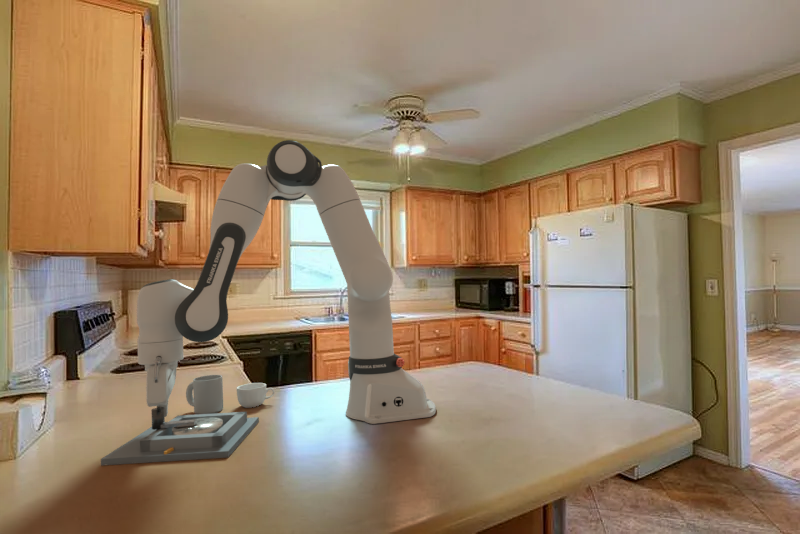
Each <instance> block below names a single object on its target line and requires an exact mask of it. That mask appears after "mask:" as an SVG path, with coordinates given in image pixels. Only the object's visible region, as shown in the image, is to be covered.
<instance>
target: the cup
mask: <svg viewBox="0 0 800 534" xmlns="http://www.w3.org/2000/svg"><path fill="white" fill-rule="evenodd" d="M223 381H224V380H223V375H221V374H210V375H202V376H198V377H197V376H196V377H195V378H192V381H191V382H190V383H189V384H188V385H187V388H186V391H185V398H186V402H187V404H188V405H189V406H190V407H193V412H194V415H197V414H214V413H221V411H223V409H224V388H223V387H224V386H223Z"/></svg>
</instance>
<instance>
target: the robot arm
mask: <svg viewBox="0 0 800 534" xmlns="http://www.w3.org/2000/svg"><path fill="white" fill-rule="evenodd" d="M306 195H307V196H308V197H309V198H310V199H311V200H312V202H313V203H314V204H315V207H316V210H317V213H318V216H319V218H320V220H321V222H322V225H323V228H324V230H325V233H326V235H327V237H328V240H329V243H330V246H331V247H332V249H333V252H334V255H335V257H336V260H337V262H338V264H339V267H340V270H341V272H342V275H343V278H344V280H345V282H346V288H347V310H348V311H347V312H348V338H349V339H348V340H349V342H348V343H349V356H348V361H347V367H348V368H347V369H348V370H347V371H348V379H349V381H350V382H349V391H348V392H349V393H348V401H347V406H346V411H345V416H346V417H348V418H350V419H353V420H356V421H357V420H358V421H363V422H365V423H368V424H370V425H372V424H373V425H375V424H376V425H377V424H384V423H393V422H400V421H408V420H415V419H422V418H423V419H424V418H431V417H432V416H434V415H435V414H436V412H437V409H436V408H437V407H436V404H435V402H434V401H433V400H432V399H429V398H427V394H426V390H425V387H424V385H423V384H422V382H420V380H419V379H417V378H416V377H414V376H413V375H411V374H410V373H409V372H408V371H406V370H404V369H403V367H404V366H405V359H404V358H403V357H402V356H400V355H399V354H398V355H397V354H396V353H395V352H394V331H393V330H394V329H393V319H392V317H393V316H392V309H391V299H390V290H391V288H392V286H393V282H394V281H393V272H392V270H391V267H390V265H389V262H388V260H387V258H386V254H384V251H383V249H382V247H381V245H380V242H379V240H378V238H377V237H376V234H375V233H374V230H373V227H372V225H371V224H370V221H369V218H368V216H367V214H366V210H365V208H364V206H363V203H362V201H361V197H360V196H359V194H358V192H357V189H356V188H355V186H354V184H353V182H352V181H351V179H350V177H349V175H348V174H347V172H346V171H345V169H343V168H342V167H341V166H340V165H336V164H327V165H322V160H320V159H319V158H318V156H316V155H314V153H312V152H311V151H310V150H309V149H308V148H307V147H306V146H305V145H304V144H302V143H301V142H299V141H296V140H293V139H292V140H291V139H290V140H282V141H279V142H277V143H276V144H274V146H272V148H271V149H270V151H269V152H268V155H267V159H266V164H265V165H261V166H260V165H256V164H252V163H247V162H246V163H245V162H244V163H238V164H237V165H236V166H234V167H233V168H232V169H231V171H230V172H229V174H228V176H227V178H226V179H225V181H224V183H223V185H222V187H221V190H220V191H219V194H218V197H217V199H216V202H215V205H214V208H213V212H212V216H211V222H210V244H209V249H208V253H207V256H206V259H205V262H204V264H203V267H202V270H201V273H200V274H199V278H198V280H197V282H196V284H195V286H194V288H192V287H190V286H187V285H185V284H183V283H182V282H180V281H178V280H177V279H173V278H172V279H170V278H169V279H162V280H158V281H154V282H153V281H152V282H149V283H147V284H146V283H145V285H143V286H142V287H141V288H140V289H139V292H138V294H137V295H138V296H137V301H136V323H137V326H138V338H137V364H139V365H141V366H144V371H145V372H146V387H145V389H146V404H147V406H148V407H150V408H151V407H156V408H159V407H164V416H165V418H166V417H167V416H168V415H169V414H168V412H169V399H170V396H171V394H172V391H173V389H174V387H175V383H176V378H177V377H176V376H177V368H178V362H179V361H182V360H183V359H184V356H185V355H184V338H185V339H186V340H188V341H190V342H196V343H206V342H210V341H213V340H214V339H216V338H218V337H219V336H220V335H221V334H222V333H223V332H224V330H225V329H226V327H227V326H228V321H229V310H228V303H227V301H228V300H227V297H228V293H229V289H230V286H231V284H232V281H233V277H234V275H235V272H236V268H237V265H238V263H239V260H240V259H241V257H242V254H244V252H245V250H246V249H247V248H248V246H249V245H250V244H251V243H252V241H253V240H254V238H255V237H256V235H257V233H258V232H259V230H260V227H261V224H262V222H263V219H264V216H265V214H266V211H267V208H268V205H269V203H270V201H271V200H273V201H287V202H288V201H290V202H294V201H298V200H300V199H302V198H304V197H305V196H306Z"/></svg>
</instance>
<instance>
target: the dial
mask: <svg viewBox="0 0 800 534" xmlns="http://www.w3.org/2000/svg"><path fill="white" fill-rule="evenodd" d="M165 418H166V417H165V416H164V407H159V408H157V407H154V408H152V409H151V427H152V429H153V430H156V429H162V428H172V435H188V434H205V433H216V432H217V431H218V430H219V429H220V428H221V427H223V420H222V419H220V418H213V417H210V418H199V419H193V420H182V421H171V422H169V421H165Z"/></svg>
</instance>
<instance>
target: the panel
mask: <svg viewBox="0 0 800 534" xmlns="http://www.w3.org/2000/svg"><path fill="white" fill-rule="evenodd" d="M210 417H213V418H220V419H222V420H223V427H221V428H220V429H219V430H218V431H217V432H216V433H205V434H188V435H172V428H162V429H156V430H153V429H152V426H151V427H149V428H147V429H145V430H144V431H143V432H141V433H139V434H138V435H136V436H135V437H133V438H132V439H130V440H128V441H127V442H126V443H124V444H122V445H120V446H119V447H117V448H116V449H114V450H113V451H111V452H109V453H107V454H106V455H105V456H104V457H102V458H100V466H113V465H127V464H145V463H160V462H161V463H162V462H163V463H164V462H174V461H175V462H176V461H190V460H191V461H192V460H194V461H195V460H206V459H208V460H210V459H223V458H224V459H225V458H230V456H231V455H232V454H233V452H235V450H236V449H237V448H238V447H239V446H240V445H241V444H242V442H243V441H244V440H245V438H247V436H248V435H249V434H250V433H251V432H252V430H253V429H254V428H255V427H257V425H258V424H259V422H260V421H259V420H260V419H259V416H256V417H255V416H254V417H252V416H251V417H248V412H247V411H236V412H235V411H233V412H217V413H214V414H183V415H182V414H181V415H177V416H175V417H173V418H172V419H171V420H169V421H168V422H171V421H182V420H193V419H199V418H210Z"/></svg>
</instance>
